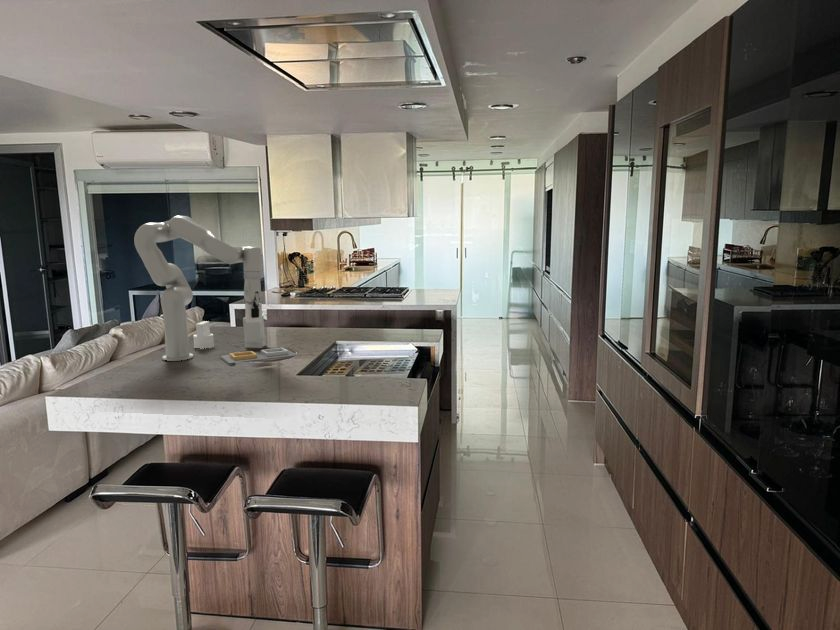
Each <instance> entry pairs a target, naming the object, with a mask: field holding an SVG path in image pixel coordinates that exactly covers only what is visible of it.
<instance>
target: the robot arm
mask: <svg viewBox="0 0 840 630" xmlns="http://www.w3.org/2000/svg"><path fill="white" fill-rule="evenodd" d="M133 238H134V239H133V240H134V247H135V249H136V252H137V253H138V255H139V257H140V258H141V260H142V262H143V265H144V267H145V268H146V270H147V272H148V274H149V276H150V278H151V280H152V281H153V282H154V284H155V285H156V286H159V287H165V288H166V289H165V290H164V291H163V292H162V293H161V295H160V305H161V310H162V314H163V315H162V316H163V326H164V327H163V329H164V343H165V345H164V346H165V354H164V355H163V356H161V357H162V360H163V361H165V360H167V361H166V362H181V360H182V361H187V359H188V360H191V359H193V358H194V354H193V353H191V352H190V339H189V323H188V314H187V310H186V306H187V305H189V304H190V303H191V302H192V301H193V298H194V296H193V295H194V294H193V291H192V289H191V286H190V284H189V283H188V280H187V279H186V277H185V275H184V272H183V271H182V269H180V268H179V266H178V265H176V264H174V263H171V262H168V261H167V259H166V258H165V256H164V254H163V252H162V250H161V249H160V248H159V247H158V245H157V243H165V242H169V241H174V240H178V239H182V240H184V241H186V242H188V243H190V244H192V245H194V246H196V247H198V248H200V249H201V250H202V251H203V252H206V253H207V254H208V255H209V256H212V257H214V259H217V260H219V261H221V262H223V263H226V264H228V265H234V264H238V263H243V280H244V282H243V283H244V284H243V285H244V286H243V299H244V300H245V301H247V303H249V302H251V301H252V309H251V317H252V318H258V317H259V303H260V302H261V301H262V286H261V280H262V278H263V275H262V273H263V271H262V267H263V266H262V261H263V260H262V259H263V258H262V249H261V247H259V246H242V245H241V246H240V245H230V244H228V243H226V242H225V241H222V240H221V239H218V238H217V237H215V235H214V234H213V232H211V230H210V229H208V228H206V227H205V226H202V225H200V224H198V223H196V222H195V221H194V220H193V218H191V216H187V215H175V216H173V217H171V218H170V219H169V220H166V221H163V222H147V223H146V222H145V223H144V224H142V225H140V226H139V227H138V229H136V232H135V234H134V237H133Z"/></svg>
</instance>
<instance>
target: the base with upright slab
mask: <svg viewBox="0 0 840 630" xmlns="http://www.w3.org/2000/svg"><path fill="white" fill-rule="evenodd" d="M195 327H196V329H195V331H196V334H193V348H194V349H195V348H200V349H199V350H206V348H209V349H212V347H213V348H215V347H214V345H215V344H214V343H215V341H214V334H213V333H210V332H211V330H210V329H211V328H210V321H209V320H208V321H207V320H206V321H205V320H203V321H200V322H198V323H196V324H195ZM204 348H205V349H204Z"/></svg>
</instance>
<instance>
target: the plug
mask: <svg viewBox="0 0 840 630" xmlns="http://www.w3.org/2000/svg"><path fill="white" fill-rule="evenodd" d="M262 307H263V303H262V302H261V303H259V317H258V318H252V317H251V309H252V301H251V302H249V303H248V302H246V303H245V307H244V309H245V312H244V313H245V318H246V322H248V323H251V322H262V316H263V315H262V314H263V309H262Z"/></svg>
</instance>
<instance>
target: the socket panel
mask: <svg viewBox="0 0 840 630" xmlns="http://www.w3.org/2000/svg"><path fill="white" fill-rule="evenodd" d="M293 356H298V353H295V352H293V351H291V350H289V349H287V348H284V347H276V348H266V349H260V351H252V350H248V351H239V352H232V353H231V352H229V354H226V355H225V354H224V355H220V357H219V358H220V359H221V361H223V360H224V363H226V364H227V363H228V364H229V366H234V365H235V364H237V363H242V362H243V363H244V362H250V361H259V360H266V359H267V360H268V359H275V358H276V359H277V358H285V357H293ZM228 364H227V365H228Z"/></svg>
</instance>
